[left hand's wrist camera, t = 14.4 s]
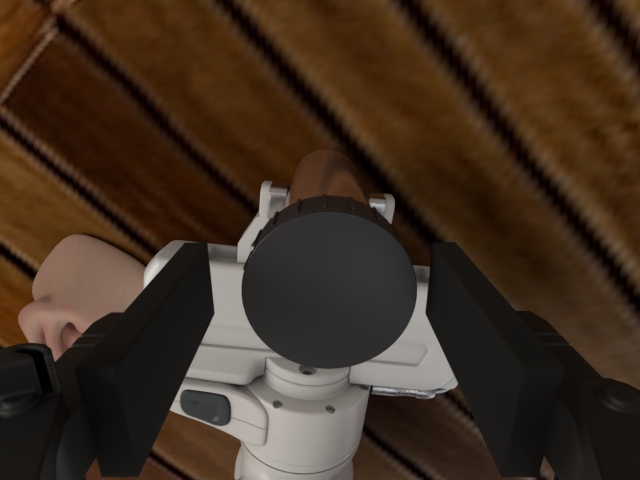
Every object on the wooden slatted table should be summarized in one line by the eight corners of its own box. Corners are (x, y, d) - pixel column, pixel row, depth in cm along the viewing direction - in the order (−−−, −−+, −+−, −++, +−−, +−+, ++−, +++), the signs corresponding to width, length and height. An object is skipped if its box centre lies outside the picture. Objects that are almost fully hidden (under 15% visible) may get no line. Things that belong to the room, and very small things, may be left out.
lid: (360, 162, 14) (366, 175, 12) (432, 295, 15) (448, 325, 13) (219, 242, 15) (203, 266, 13) (301, 358, 16) (298, 395, 14)
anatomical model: (-1, 239, 27) (171, 286, 28) (38, 221, 31) (189, 263, 32) (-7, 394, 31) (142, 429, 32) (28, 362, 35) (161, 394, 36)
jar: (338, 136, 29) (357, 196, 12) (369, 192, 30) (423, 313, 14) (281, 169, 29) (230, 265, 13) (314, 222, 31) (304, 370, 15)
